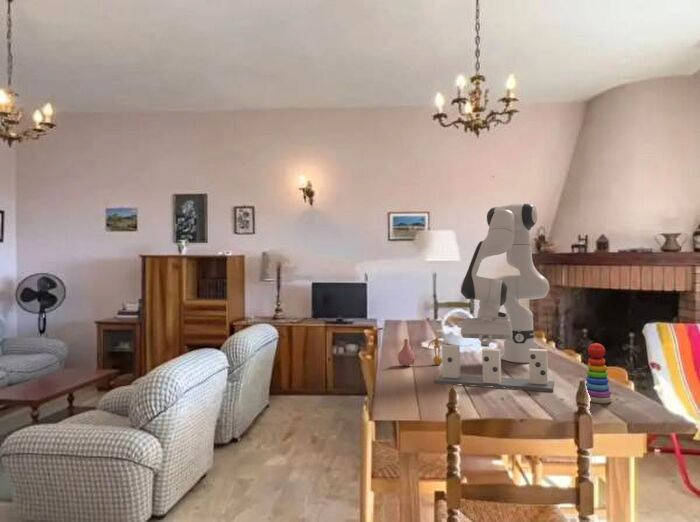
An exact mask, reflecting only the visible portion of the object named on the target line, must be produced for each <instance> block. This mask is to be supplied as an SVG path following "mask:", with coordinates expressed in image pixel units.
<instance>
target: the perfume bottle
mask: <svg viewBox="0 0 700 522" xmlns="http://www.w3.org/2000/svg"><path fill="white" fill-rule="evenodd" d="M403 341H404V343H403V347H402V349H401V350H400V351H399V352H398V354H397V355H398V356H397V360H398V364H399V365H400V366H401V365H402V366H403V367H404V366H409V367H410V366H411V365H414V363H415V359H416V356H415V353H414V351H413V350H411V348H410V346H409V343H408V338H404V339H403Z"/></svg>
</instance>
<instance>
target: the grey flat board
mask: <svg viewBox="0 0 700 522" xmlns="http://www.w3.org/2000/svg"><path fill="white" fill-rule="evenodd" d="M434 383H435V384H440V385H441V384H442V385H452V384H462V385H461V386H465V385H476V386H475V387H479V386H493V387H505V388H514V389H513V390H518V389H524V390H523V391H532V390H533V391H534V392H535V391H536V392H544V393H545V392H546V393H547V392H548V393H553V392H554V390H555V389H554V388H555V380H548V384H547V385H545V384H530V378H518V377H517V378H515V377H502V376H501V383H500V384H496V383H483V375H470V374H469V375H468V374H460V377H459V378H445V377H443V373H441V374H440V375H439V376H438V377H436V378H435V379H434ZM505 388H504V389H505Z"/></svg>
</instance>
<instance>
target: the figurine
mask: <svg viewBox="0 0 700 522" xmlns="http://www.w3.org/2000/svg"><path fill="white" fill-rule="evenodd" d="M431 343H433V344H434V345H433V349H434V355H435V356H434V357H433V360H432V362H433V364H434V365H437V366H440V365H441V364H442V356H441V355H440V353H441V345H440V343H442V344H443V345H446V344H445V342H444V341H443V340H440V339H439V338H438V337H435V338H434V339H433V340H431V341H429V343H428V346H427V349H430V345H431ZM437 350H438V353H437Z"/></svg>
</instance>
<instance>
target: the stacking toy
mask: <svg viewBox="0 0 700 522" xmlns="http://www.w3.org/2000/svg"><path fill="white" fill-rule="evenodd" d="M587 353H588V355H589V356H590V357H589V358H588V361H587V362H588V363H589V364H588V365H587V368H588V370H587V372H586V373H587V376H586V383H585V387H586V386H587V387H586V388H587V390H588V393H589V395H590V398H591V402H590V403H594V404H608V403H611V402H612V400H613V399H612V396H611V395H612V391H611V390H610V384H609V381H610V380H609V378H608V372H607V370H608V367H607V365H605V364H606V358H604V356H605V355H606V348H605V347H604V345H602V344H601V343H597V342H595V343H592V344H590V345H589V346H588V348H587Z"/></svg>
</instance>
